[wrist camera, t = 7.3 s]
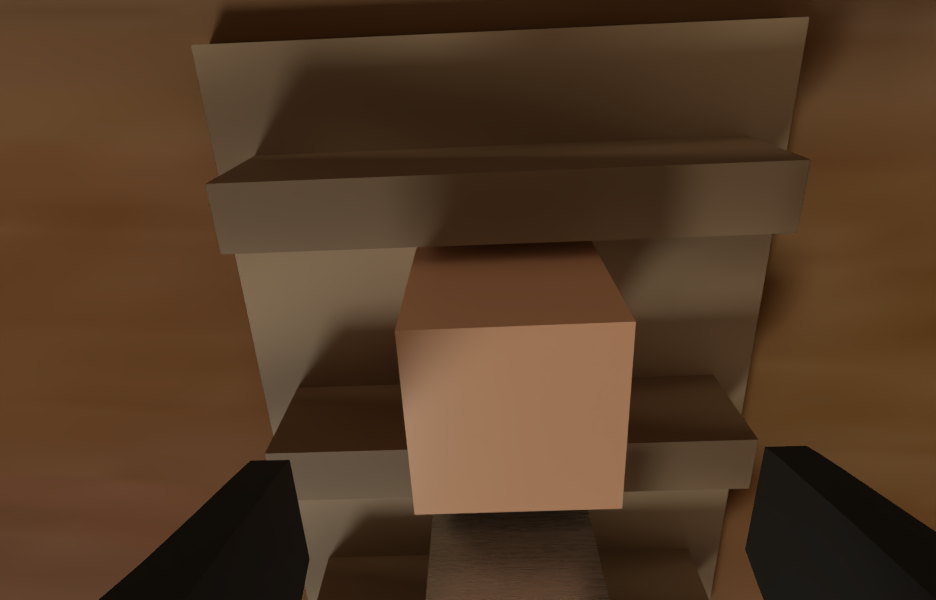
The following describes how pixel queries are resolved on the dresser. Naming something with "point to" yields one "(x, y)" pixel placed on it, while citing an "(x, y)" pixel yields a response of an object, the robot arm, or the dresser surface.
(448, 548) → the grey plug
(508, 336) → the terracotta plug
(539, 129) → the cable comb
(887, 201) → the dresser surface
